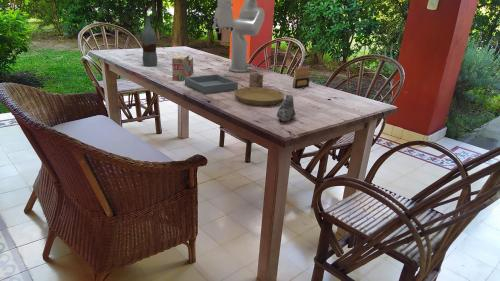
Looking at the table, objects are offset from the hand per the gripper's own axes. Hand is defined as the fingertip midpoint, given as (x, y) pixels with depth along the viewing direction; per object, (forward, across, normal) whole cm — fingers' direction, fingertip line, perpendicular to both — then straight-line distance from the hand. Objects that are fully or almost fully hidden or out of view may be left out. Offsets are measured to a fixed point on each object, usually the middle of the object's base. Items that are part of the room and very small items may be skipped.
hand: (223, 39), depth 207 cm
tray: (+22, +18, +16) cm, 32 cm away
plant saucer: (+22, +9, +45) cm, 51 cm away
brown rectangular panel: (+22, -27, +37) cm, 51 cm away
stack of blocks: (+22, +19, -12) cm, 31 cm away
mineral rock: (+22, +17, +71) cm, 76 cm away
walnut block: (+22, -4, +26) cm, 34 cm away
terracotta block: (+1, 0, 0) cm, 1 cm away
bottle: (+22, +24, -47) cm, 57 cm away
